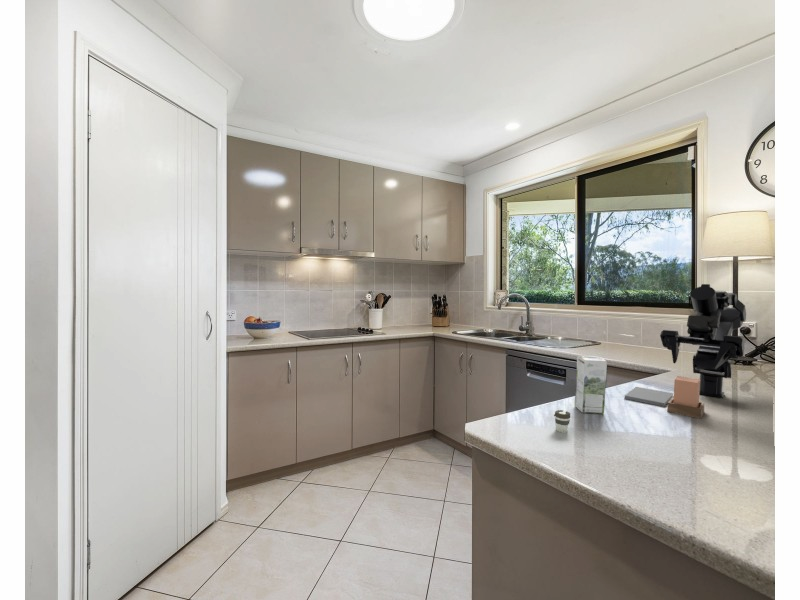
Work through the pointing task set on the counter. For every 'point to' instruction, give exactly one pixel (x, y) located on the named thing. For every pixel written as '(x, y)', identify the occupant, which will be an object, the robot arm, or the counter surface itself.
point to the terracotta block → (686, 391)
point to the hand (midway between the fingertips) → (693, 365)
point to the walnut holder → (685, 409)
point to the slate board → (649, 396)
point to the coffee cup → (562, 420)
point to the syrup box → (590, 384)
